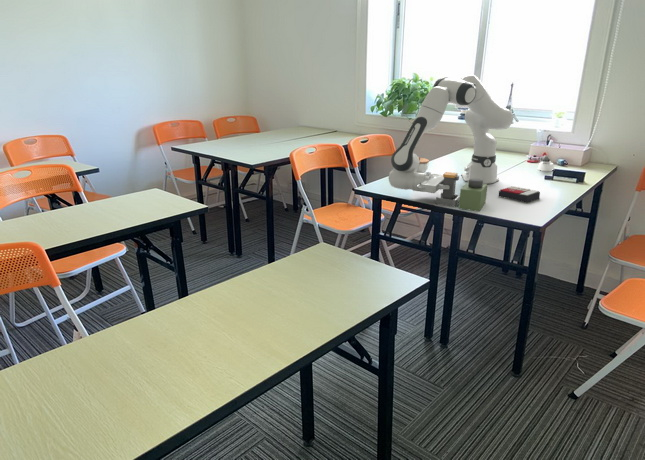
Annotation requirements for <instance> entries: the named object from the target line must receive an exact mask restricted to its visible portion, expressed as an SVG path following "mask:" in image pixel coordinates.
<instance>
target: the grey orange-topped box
mask: <svg viewBox="0 0 645 460" xmlns="http://www.w3.org/2000/svg"><path fill="white" fill-rule="evenodd" d="M442 175H443V177H444V182H443V185H450V189H442V193H443V194H442V198H446V199H454V196H455V195H456V184H457V181H459V180H460V175H458V172H451V171H445V172H444V173H443V174H442Z"/></svg>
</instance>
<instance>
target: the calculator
mask: <svg viewBox="0 0 645 460" xmlns="http://www.w3.org/2000/svg"><path fill="white" fill-rule="evenodd" d="M540 195H541V191H539V190H534V189H530V188H526V187H525V188H523V187H519V186H518V187H517V186H508V187H505V188H502V189H500V190H498V197H500V196H501V198H504V197H505V198H506V199H510V200H513V201H518V202H522V203H526V204H528V203H531V202H534V201H537V200H540Z"/></svg>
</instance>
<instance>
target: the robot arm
mask: <svg viewBox="0 0 645 460" xmlns="http://www.w3.org/2000/svg"><path fill="white" fill-rule="evenodd" d="M448 104H452V105H453V104H454V105H459V106H467V107H468V109H467V110H466V111H465V115H464V122H465V124H466V125H467V126H468V127H469V128H470V129H471V132H472V135H473V140H474V141H473V142H474V143H473V154H472V156H471V161H470V162H469V163H468V164H467V165H466V166H465V167H464V172H462V173H461V176H462V178H463V179H462V180H463V182H469V179H481V180H483V184H487V185H488V184H494V183H496V182H499V181H500V178H498V165H497V164H496V160H497V155H496V150H497V139H496V138H495V137H494V136H493V135H492V133H491V132H490V130H495V131H496V130H497V131H499V130H507V129H509V127H510V126H512V124H513V120H514V114H513V113H512V110H510V109H508V108H506V107H503V106H502V105H501V104H499V103H498V102H497V101H495V99H493V98H492V97H491V96H490V94H489V92H488V91H487V89H486V87H485V86H484V84H483V83H482V81H481V80H480V79H479V78H478V77H477V76H476V75H474V74H471V73H470V74H466V75H464V76H463V77H462V78H461V79H459V78H452V77H451V78H450V77H439V78H438V79H437V80H436V81H435V82H434V84H433V86H432V87H431V89H430V90H429V92H427V94H426V96H425V98H424V99H423V101H422V103H421V105H420V107H419V109H418V113H417V114H416V116H415V119H414V121H413V123H412V124H411V126H410V128H409V129H408V131H407V134H406V135H405V137H404V139H403V141H402V143H401V144H400V146H399V147H398V148H397V149H396V150H395V151H394V152H393V153H392V155H391V159H390V162H391V166H392V167H393V169H391V171H389V174H388V182H389V185H390V186H391V187H393V188H395V189H399V190H405V191H406V190H412V191H413V192H421V193H430V194H436V193H437V192H438V191H439V190H443V189H450V185H443V182H444V177H443V174H438V173H432V172H430V171H426V172H424V173H418V172H417V171H418V168H419V164H420V160H419V157H420V156H418V155H417V154H416V153H415V149H416V147H417V146H418V144H419V142H420V140H421V138H422V136H423V135H424V134H425V133H427V132H428V131H429V132H430V131H432V130H433V129H436V127H438V125H439V123H440V122H441V120H442V118H443V116H444V113H445V111H446V109H447V106H448Z"/></svg>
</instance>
